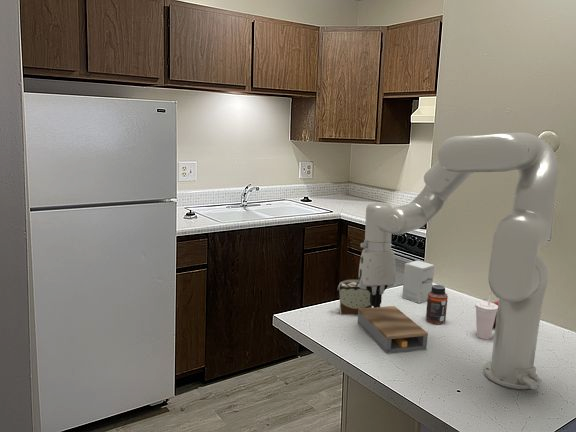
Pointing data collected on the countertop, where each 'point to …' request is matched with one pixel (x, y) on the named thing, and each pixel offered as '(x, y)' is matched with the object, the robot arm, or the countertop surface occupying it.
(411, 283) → the supplement box
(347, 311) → the food container
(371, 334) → the bar
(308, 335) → the countertop surface
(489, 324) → the smoothie
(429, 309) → the supplement bottle
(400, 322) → the lid
